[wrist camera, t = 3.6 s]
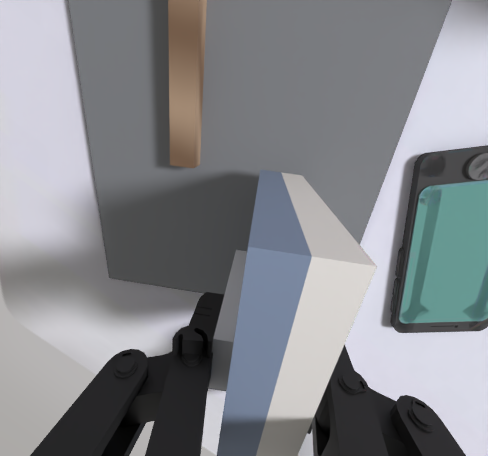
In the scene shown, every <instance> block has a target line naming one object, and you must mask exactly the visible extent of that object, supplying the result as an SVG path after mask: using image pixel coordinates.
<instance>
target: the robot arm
mask: <svg viewBox="0 0 488 456" xmlns="http://www.w3.org/2000/svg"><path fill="white" fill-rule="evenodd" d="M246 257H247V251H241V250H236V252H235V256H234V260H233V264H232V268H231V271H230V275H229V279H228V283H227V287H226V291H225V295H223V294H217V293H211V292H206V293H205V294H204V295H203V296H201V297H200V299H199V301H198V304H197V307H196V309H195V311H194V314H193V316H192V319H191V321H190V324H189V326H186V327H183V328H181V329H180V330H179V331H178V332H176V334H175V336H174V337H173V351H172V352H170V353H168V354H165V355H161V356H154V357H146V355H145V354H144V353H143V352H142V351H140V350H135V349H129V350H125V351H122V352H120V353H118V354H116V355H115V356H113V357H112V358H111V359H110V360H109V361H108V362H107V363H106V365H105V366H104V367H103V368H102V369H101V371H100V372H99V373H98V374H97V375H96V377H95V378H94V379H93V380H92V382H91V383H90V384H89V385H88V386H87V388H86V389H85V390H84V391H83V392H82V394H81V395H80V396H79V397H78V399H77V400H76V401H75V402H74V403H73V404H72V406H71V407H70V408H69V410H68V411H67V412H66V413H65V414H64V415H63V417H62V418H61V419H60V420H59V421H58V423H57V424H56V425H55V426H54V428H53V429H52V430H51V431H50V432H49V434H48V435H47V436H46V437H45V438H44V440H43V441H42V442H41V443H40V445H39V446H38V447H37V448H36V449H35V450H34V452H33V453H32V454H31V455H30V456H129V455H130V453H131V451H132V449H133V447H134V445H135V443H136V441H137V439H138V437H139V436H140V434H141V432H142V430H143V428H144V426H145V424H146V422H150V421H155V422H154V425H153V429H152V433H151V436H150V440H149V443H148V447H147V451H146V454H145V456H200V454H201V444H202V435H203V426H204V416H205V407H206V397H207V391H208V388H210V389H215V390H221V391H227V384H228V377H229V371H230V364H231V357H232V351H233V344H234V337H235V330H236V324H237V317H238V310H239V304H240V297H241V290H242V283H243V277H244V270H245V263H246ZM311 431H312V435H313V456H466V455H465V454H464V452H463V451H462V449H461V448H460V447H459V445H458V444H457V442H456V441H455V439H454V438H453V436H452V435H451V434H450V432H449V431H448V429H447V428H446V426H445V425H444V423H443V422H442V421H441V419H440V418H439V417H438V416H437V414H436V413H435V412H434V411H433V410H432V409H431V408H430V407H429V406H427V405H426V404H425V403H424V402H422V401H420V400H419V399H417V398H415V397H412V396H408V395H405V396H400V397H399V399H398V400H397V402H396V401H394V400H392V399H390V398H388V397H386V396H384V395H382V394H380V393H377V392H376V391H374V390H372V389H371V388H369V387H368V385H367V383H366V381H365V380H364V379H363V378H362V376H361V375H360V374H358V373H357V372H356V371H354V369H353V366H352V364H351V361H350V358H349V355H348V353H347V350H346V347H345V344H344V347H343V349H342V351H341V354H340V356H339V358H338V361H337V363H336V366H335V368H334V370H333V373H332V375H331V377H330V380H329V382H328V385H327V387H326V389H325V392H324V394H323V396H322V399H321V401H320V404H319V406H318V408H317V411H316V413H315V415H314V418H313V420H312V423H311V425H310V427H309V430H308V432H307V433H308V434H310V433H311Z"/></svg>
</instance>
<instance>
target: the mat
mask: <svg viewBox="0 0 488 456" xmlns="http://www.w3.org/2000/svg"><path fill="white" fill-rule="evenodd" d="M451 2H452V0H207V8H206V32H205V56H204V79H203V103H202V127H201V151H200V165H199V166H197V167H195V168H187V167H180V166H173V165H170V117H169V25H168V0H68V3H69V9H70V16H71V23H72V30H73V36H74V43H75V50H76V57H77V63H78V70H79V77H80V84H81V90H82V97H83V104H84V111H85V117H86V124H87V131H88V138H89V144H90V151H91V158H92V165H93V171H94V178H95V185H96V192H97V198H98V205H99V212H100V219H101V225H102V232H103V239H104V246H105V252H106V259H107V266H108V273H109V278H112V279H118V280H124V281H131V282H137V283H143V284H149V285H156V286H162V287H168V288H175V289H181V290H187V291H194V292H200V293H206V292H211V293H217V294H223V295H225V291H226V287H227V283H228V279H229V275H230V271H231V268H232V264H233V260H234V256H235V252H236V250H241V251H247V250H248V243H249V237H250V231H251V225H252V219H253V212H254V206H255V200H256V194H257V188H258V181H259V175H260V170H267V171H274V172H282V173H289V174H296V175H302V176H303V177H304V178H305V180H306V181H307V182H308V183H309V184H310V186H311V187H312V188H313V189H314V190H315V192H316V193H317V194H318V195H319V197H320V198H321V199H322V200H323V201H324V203H325V204H326V205H327V206H328V207H329V209H330V210H331V211H332V212H333V214H334V215H335V216H336V217H337V218H338V220H339V221H340V222H341V223H342V224H343V226H344V227H345V228H346V229H347V231H348V232H349V233H350V234H351V235H352V237H353V238H354V239H355V240H356V241H357V243H358V244H359V245H360V242H361V240H362V237H363V234H364V232H365V229H366V226H367V224H368V221H369V218H370V216H371V213H372V211H373V208H374V205H375V203H376V200H377V197H378V195H379V192H380V189H381V187H382V184H383V182H384V179H385V176H386V174H387V171H388V168H389V166H390V163H391V160H392V158H393V155H394V152H395V150H396V147H397V145H398V142H399V139H400V137H401V134H402V131H403V129H404V126H405V123H406V121H407V118H408V115H409V113H410V110H411V108H412V105H413V102H414V100H415V97H416V94H417V92H418V89H419V86H420V84H421V81H422V79H423V76H424V73H425V71H426V68H427V65H428V63H429V60H430V57H431V55H432V52H433V49H434V47H435V44H436V42H437V39H438V36H439V34H440V31H441V28H442V26H443V23H444V20H445V18H446V15H447V12H448V10H449V7H450V5H451Z"/></svg>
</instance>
